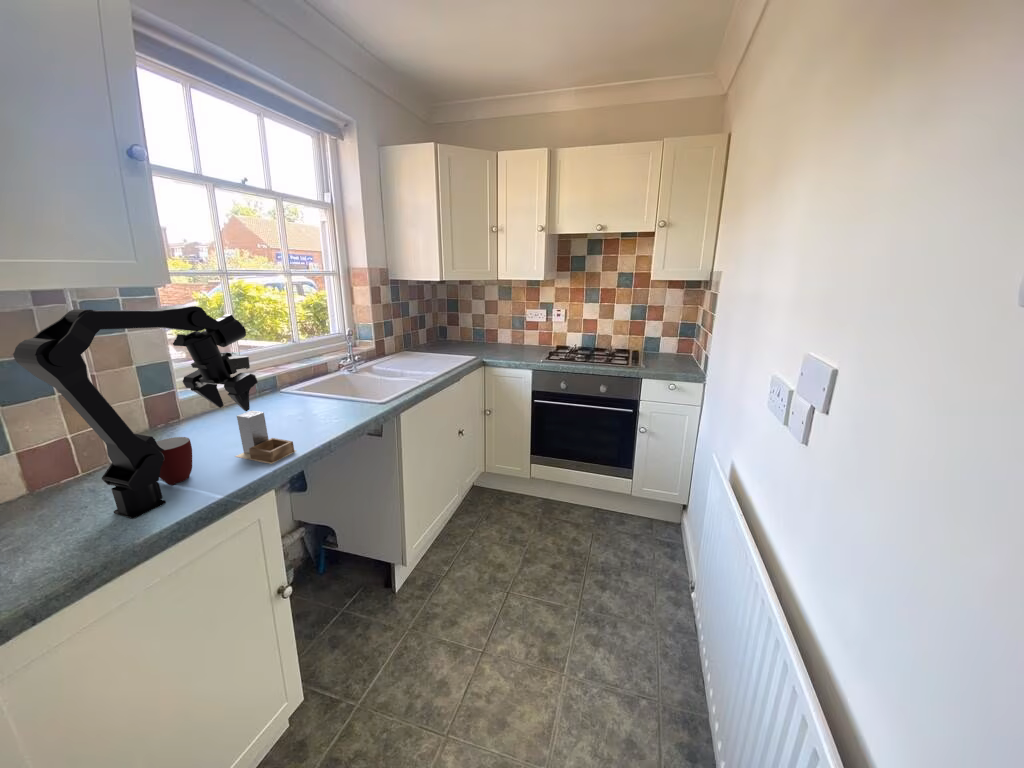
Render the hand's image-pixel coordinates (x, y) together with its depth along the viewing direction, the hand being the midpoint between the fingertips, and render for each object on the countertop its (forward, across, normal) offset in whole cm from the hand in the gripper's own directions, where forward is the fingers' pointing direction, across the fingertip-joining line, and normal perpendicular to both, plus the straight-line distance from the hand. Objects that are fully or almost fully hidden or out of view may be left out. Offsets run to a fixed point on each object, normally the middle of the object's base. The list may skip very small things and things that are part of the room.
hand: (234, 408), depth 107 cm
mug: (+11, +6, +17) cm, 21 cm away
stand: (+15, -4, 0) cm, 16 cm away
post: (+15, 0, 0) cm, 15 cm away
